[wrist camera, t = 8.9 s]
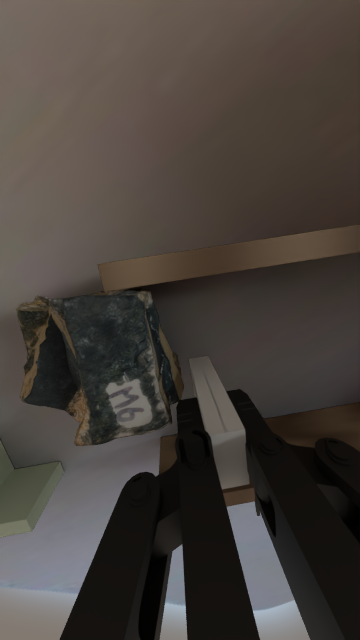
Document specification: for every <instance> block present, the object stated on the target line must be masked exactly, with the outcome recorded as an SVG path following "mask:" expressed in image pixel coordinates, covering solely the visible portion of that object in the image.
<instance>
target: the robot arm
mask: <svg viewBox="0 0 360 640" xmlns="http://www.w3.org/2000/svg"><path fill="white" fill-rule="evenodd" d="M189 365H190V371H191V378H192V384H193V391H194V396H195V398H190V399H184V400H180V401H179V403H178V405H177V407H176V410H177V426H178V436H177V438H176V441H175V450H176V455H177V459H176V461H175V463H174V464H173V465H172V466H171V467H170V468H169V469H168V470H166V471H165V472H163V473H161V474H159V475H158V476H156V477H155V475H154V474H152V473H149V472H142V473H138V474H137V475H135V476H133V477H132V478H131V479H130V480H129V481H128V482H127V483H126V484H125V486H124V488H123V489H122V491H121V493H120V496H119V498H118V500H117V503H116V505H115V508H114V510H113V512H112V515H111V517H110V520H109V522H108V524H107V527H106V529H105V532H104V534H103V537H102V539H101V541H100V544H99V546H98V549H97V551H96V553H95V556H94V558H93V561H92V563H91V565H90V568H89V570H88V573H87V575H86V577H85V580H84V582H83V585H82V587H81V589H80V592H79V594H78V597H77V599H76V601H75V604H74V606H73V609H72V611H71V613H70V616H69V618H68V621H67V623H66V626H65V628H64V630H63V633H62V635H61V637H60V640H159V639H160V632H161V625H162V619H163V612H164V605H165V598H166V591H167V584H168V578H169V571H170V564H171V557H172V551H173V550H175V549H176V548H177V547H179V546H180V545H181V544H183V563H184V582H185V601H186V620H187V638H188V640H260V638H259V634H258V630H257V626H256V623H255V618H254V614H253V610H252V606H251V602H250V598H249V594H248V590H247V586H246V583H245V579H244V575H243V571H242V567H241V563H240V559H239V555H238V551H237V547H236V543H235V539H234V535H233V531H232V527H231V523H230V519H229V515H228V511H227V507H226V503H225V499H224V495H223V491H222V489H227V488H232V487H237V486H242V485H248V484H250V483H249V477H250V479H251V481H252V484H253V486H254V494H255V507H256V512H257V516H260V512H261V515H262V518H263V520H264V523H265V525H266V528H267V530H268V533H269V535H270V538H271V540H272V543H273V546H274V548H275V551H276V553H277V556H278V558H279V561H280V563H281V566H282V568H283V571H284V574H285V576H286V579H287V581H288V584H289V586H290V589H291V591H292V594H293V596H294V599H295V602H296V604H297V606H298V609H299V612H300V614H301V617H302V619H303V622H304V624H305V627H306V630H307V632H308V635H309V637H310V640H360V452H359V451H358V450H357V449H355V448H354V447H352V446H350V445H349V444H347V443H345V442H343V441H341V440H338V439H335V438H327V437H325V438H321V439H318V440H317V441H316V442H315V448H313V447H305V446H297V445H292V444H289V443H287V442H286V441H285V440H284V439H283V438H282V437H280V436H278V435H277V434H275V433H273V432H272V431H271V429H270V428H269V426H268V425H267V423H266V422H265V420H264V419H263V417H262V416H261V414H260V413H259V411H258V410H257V408H256V407H255V405H254V404H253V402H252V401H251V399H250V398H249V396H248V395H247V394H246V393H245V392H243V391H242V390H240V389H237V390H232V391H225V389H224V387H223V385H222V383H221V381H220V379H219V377H218V375H217V373H216V371H215V369H214V367H213V365H212V363H211V361H210V359H209V357H208V356H202V357H196V358H190V359H189Z"/></svg>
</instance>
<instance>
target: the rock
mask: <svg viewBox="0 0 360 640" xmlns="http://www.w3.org/2000/svg"><path fill="white" fill-rule="evenodd" d="M16 312H17V315H18V319H19V323H20V327H21V331H22V333H23V337H24V341H25V344H26V348H27V352H28V356H27V360H28V361H27V363H26V364H25V366H24V370H25V378H24V382H23V386H22V390H21V396H20V398H21V400H22V401H23V402H25V403H28V404H32V405H37V406H47V407H52V408H56V409H60V410H65V411H66V412H67V413H69V414H70V415H71V416H72V417H73V418H74V419H75V420H77V421H78V422H80V423H81V424H80V426H79V428H78V431H77V434H76V438H75V442H74V443H75V444H76V446H85V445H98V444H103V443H107V442H109V441H111V440H114V439H117V438H121V437H128V436H133V435H143V434H146V433H149V432H152V431H155V430H159V429H161V428H163V427H165V426H167V425H169V424H171V423H172V416H171V409H170V405H171V404H174V403H177V402H179V401H180V400H181V398H182V393H183V389H184V385H183V381H182V378H181V368H180V367H179V362H178V355H177V354H176V353H174V352H172V350H171V348H170V346H169V344H168V342H167V338H166V337H165V336H164V334H163V332H162V330H161V327H160V324H159V317H158V314H157V311H156V309H155V306H154V303H153V300H152V296H151V291H150V290H144V289H141V286H138V287H132V288H125V289H119V290H112V291H106V292H104V291H100V293H95V294H91V295H83V296H78V297H71V298H61V299H47V296H39V295H38V297H36V298H35V300H34V302H31V303H23V304H21V305H20V306H19V307H18V308H17V309H16Z"/></svg>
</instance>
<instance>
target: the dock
mask: <svg viewBox="0 0 360 640" xmlns="http://www.w3.org/2000/svg"><path fill="white" fill-rule="evenodd" d="M63 472H64V470H63V468H62V465H61V463H60V461H58V462H53V463H47V464H42V465H36V466H30V467H25V468H19V469H14V467H13V465H12V463H11V461H10V459H9V457H8V455H7V453H6V451H5V449H4V446H3V444H2V442H1V440H0V537H5V536H10V535H15V534H21V533H26V532H31V531H33V529H34V527H35V525H36V523H37V521H38V519H39V517H40V515H41V514H42V512H43V510H44V508H45V506H46V504H47V502H48V500H49V499H50V497H51V495H52V493H53V491H54V489H55V487H56V485H57V484H58V482H59V480H60V478H61V476H62V474H63Z"/></svg>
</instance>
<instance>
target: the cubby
mask: <svg viewBox="0 0 360 640" xmlns="http://www.w3.org/2000/svg"><path fill="white" fill-rule="evenodd" d="M357 252H360V225H353V226H346V227H340V228H333V229H327V230H320V231H313V232H307V233H300V234H294V235H287V236H280V237H274V238H267V239H261V240H254V241H247V242H241V243H234V244H228V245H221V246H214V247H208V248H201V249H195V250H188V251H181V252H175V253H168V254H162V255H155V256H148V257H142V258H135V259H129V260H122V261H115V262H109V263H102V264H98V268H99V272H100V276H101V281H102V285H103V289H104V292H106V291H112V290H119V289H125V288H132V287H138V286H144V285H151V284H157V283H164V282H170V281H177V280H183V279H189V278H196V277H202V276H209V275H215V274H222V273H228V272H235V271H241V270H247V269H254V268H260V267H267V266H273V265H280V264H286V263H292V262H299V261H305V260H312V259H318V258H325V257H331V256H338V255H344V254H350V253H357ZM264 420H265V422H266V423H267V425H268V426H269V428H270V429H271V431H272V432H273V433H275V434H277V435H278V436H280V437H282V438H283V439H284V440H285V441H286V442H287V443H289V444H292V445H297V446H305V447H313V448H315V442H316V441H317V440H318V439H321V438H325V437H327V438H335V439H338V440H341V441H343V442H345V443H347V444H349V445H350V446H352V447H354V448H355V449H357V450H358V451H359V452H360V402H358V403H352V404H347V405H341V406H335V407H330V408H324V409H319V410H313V411H307V412H302V413H296V414H290V415H285V416H279V417H273V418H268V419H264ZM177 436H178V434H177V435H172V436H166V437H161V443H160V465H159V474H161V473H163V472H165V471H166V470H168V469H169V468H170V467H171V466H172V465H173V464H174V463H175V461H176V459H177V455H176V450H175V441H176V438H177ZM249 483H250V484H248V485H242V486H237V487H232V488H227V489H222V491H223V495H224V499H225V503H226V507H227V506H232V505H237V504H243V503H248V502H253V501H255V494H254V486H253V484H252V481H251V479H250V477H249Z"/></svg>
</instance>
